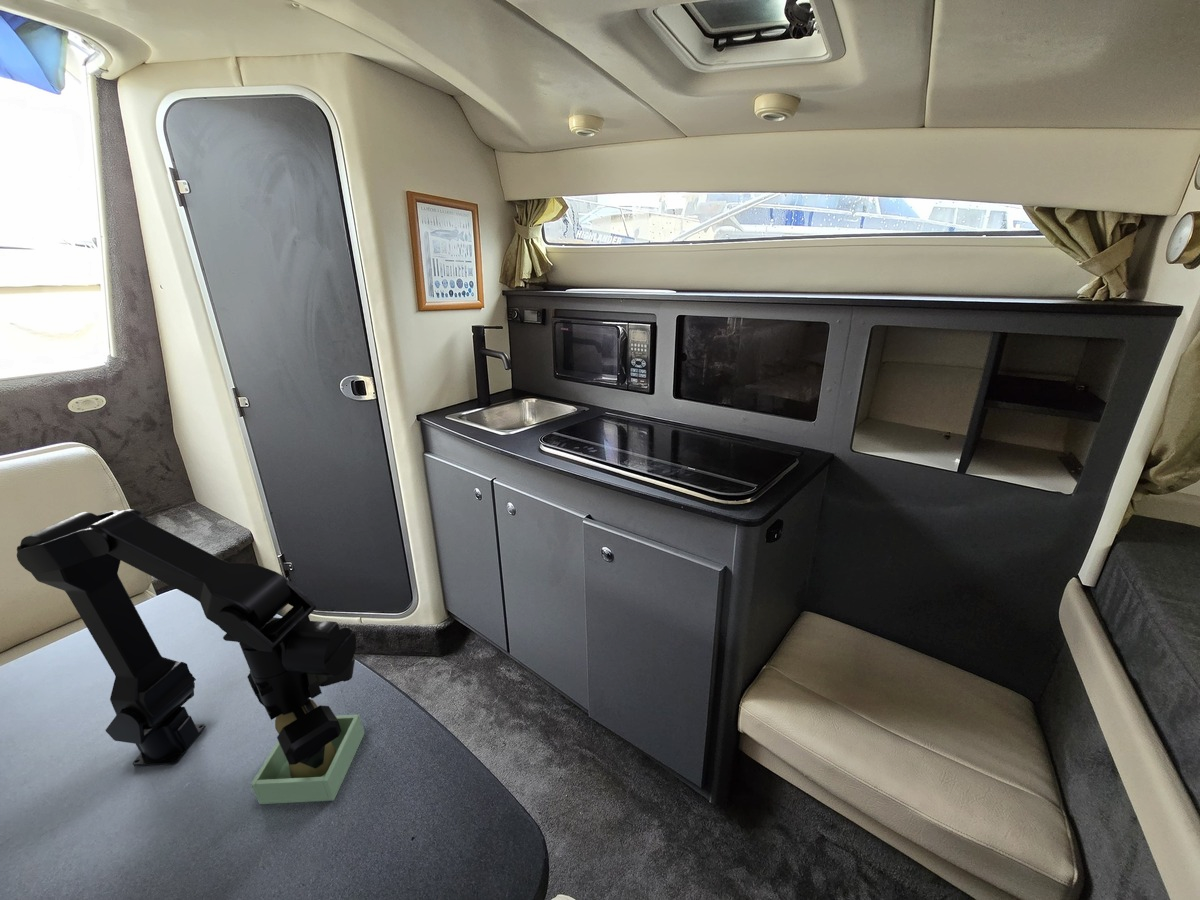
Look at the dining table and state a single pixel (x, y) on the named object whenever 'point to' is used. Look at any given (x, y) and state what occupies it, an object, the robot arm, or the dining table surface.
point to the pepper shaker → (300, 768)
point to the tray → (281, 788)
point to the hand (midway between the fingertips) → (307, 744)
